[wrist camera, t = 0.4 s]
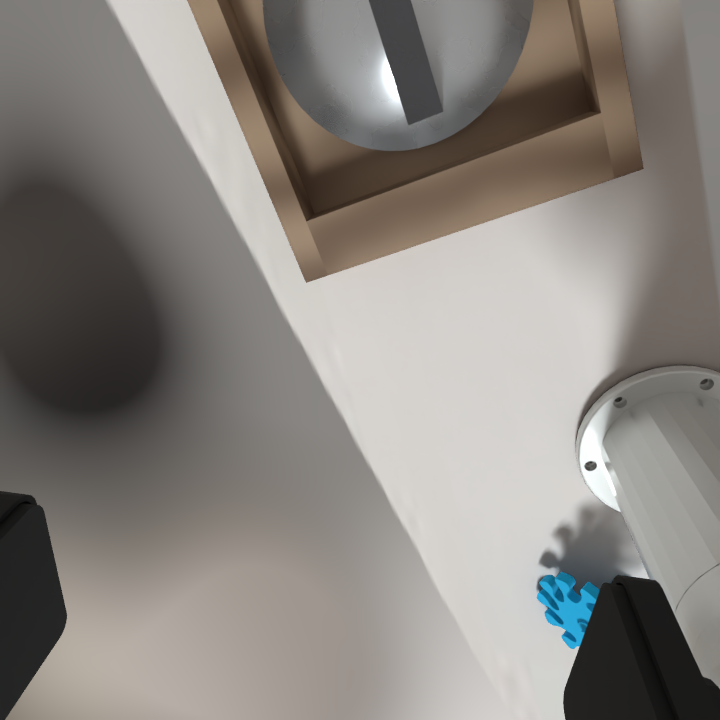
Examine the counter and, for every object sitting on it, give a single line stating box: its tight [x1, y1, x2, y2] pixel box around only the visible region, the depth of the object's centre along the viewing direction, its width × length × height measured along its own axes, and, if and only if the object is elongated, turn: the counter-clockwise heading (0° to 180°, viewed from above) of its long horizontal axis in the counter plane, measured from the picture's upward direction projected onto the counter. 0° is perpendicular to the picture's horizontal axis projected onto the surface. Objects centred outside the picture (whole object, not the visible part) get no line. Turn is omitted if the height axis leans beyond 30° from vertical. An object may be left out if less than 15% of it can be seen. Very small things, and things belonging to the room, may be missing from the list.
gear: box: [537, 572, 600, 649], centre depth 46 cm, size 11×6×10 cm
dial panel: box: [187, 0, 643, 283], centre depth 31 cm, size 24×20×4 cm
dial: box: [263, 0, 534, 151], centre depth 29 cm, size 14×14×5 cm
